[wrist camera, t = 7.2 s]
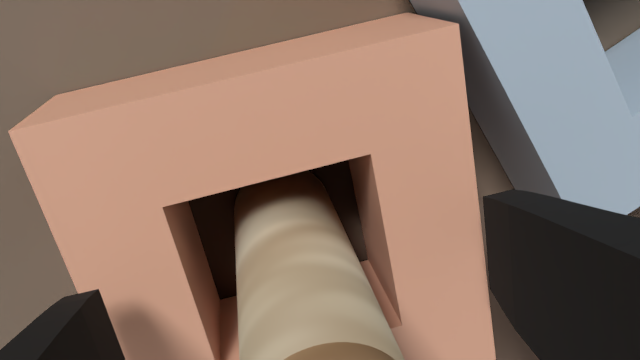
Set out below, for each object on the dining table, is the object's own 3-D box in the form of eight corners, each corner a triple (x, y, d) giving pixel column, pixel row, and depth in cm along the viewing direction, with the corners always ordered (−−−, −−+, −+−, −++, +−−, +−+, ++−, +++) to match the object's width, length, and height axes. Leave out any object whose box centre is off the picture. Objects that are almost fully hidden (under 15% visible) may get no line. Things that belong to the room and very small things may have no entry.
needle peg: (326, 159, 14) (448, 384, 6) (333, 246, 15) (448, 537, 7) (227, 171, 14) (230, 424, 6) (240, 260, 14) (258, 579, 7)
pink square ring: (407, 12, 13) (458, 23, 10) (448, 302, 16) (497, 372, 13) (55, 95, 12) (8, 131, 10) (167, 381, 15) (155, 472, 12)
